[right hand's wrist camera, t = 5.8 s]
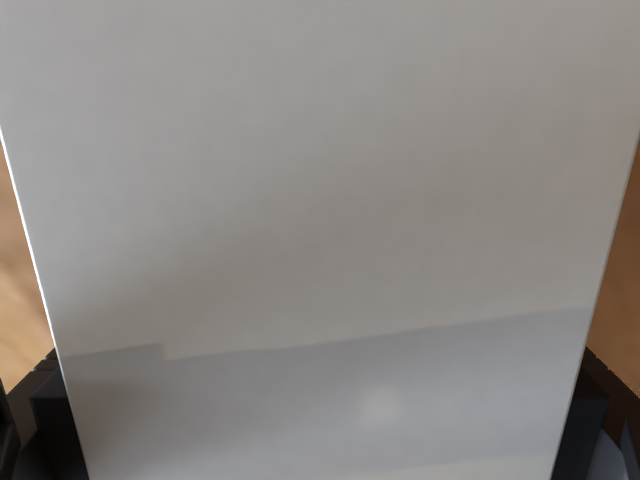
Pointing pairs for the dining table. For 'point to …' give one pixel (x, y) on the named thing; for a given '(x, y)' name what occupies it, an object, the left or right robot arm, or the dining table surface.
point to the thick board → (320, 226)
